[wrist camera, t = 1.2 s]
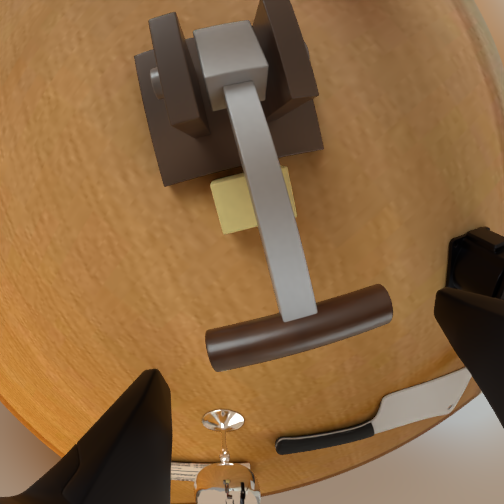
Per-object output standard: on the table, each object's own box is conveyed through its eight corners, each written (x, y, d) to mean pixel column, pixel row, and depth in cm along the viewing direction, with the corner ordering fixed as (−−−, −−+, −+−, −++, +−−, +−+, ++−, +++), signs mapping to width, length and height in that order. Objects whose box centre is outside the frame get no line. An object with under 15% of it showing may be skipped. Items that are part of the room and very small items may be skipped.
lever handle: (372, 316, 10) (402, 330, 7) (220, 358, 10) (213, 385, 7) (289, 50, 10) (296, 15, 8) (159, 76, 10) (144, 44, 8)
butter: (288, 208, 18) (297, 217, 16) (223, 224, 18) (223, 235, 16) (278, 164, 17) (287, 166, 15) (211, 180, 17) (209, 184, 15)
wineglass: (257, 427, 26) (272, 521, 15) (209, 437, 26) (212, 528, 15) (239, 400, 24) (251, 510, 13) (186, 411, 24) (180, 515, 13)
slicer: (318, 149, 17) (392, 151, 9) (167, 184, 17) (119, 214, 9) (286, 28, 14) (330, -41, 6) (139, 61, 14) (82, 5, 6)
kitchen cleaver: (480, 365, 28) (455, 413, 30) (473, 360, 29) (450, 408, 32) (284, 413, 24) (274, 463, 27) (281, 403, 26) (272, 453, 28)
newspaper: (249, 459, 29) (250, 470, 27) (248, 477, 31) (249, 486, 30) (85, 444, 27) (82, 453, 25) (101, 464, 29) (99, 473, 27)
